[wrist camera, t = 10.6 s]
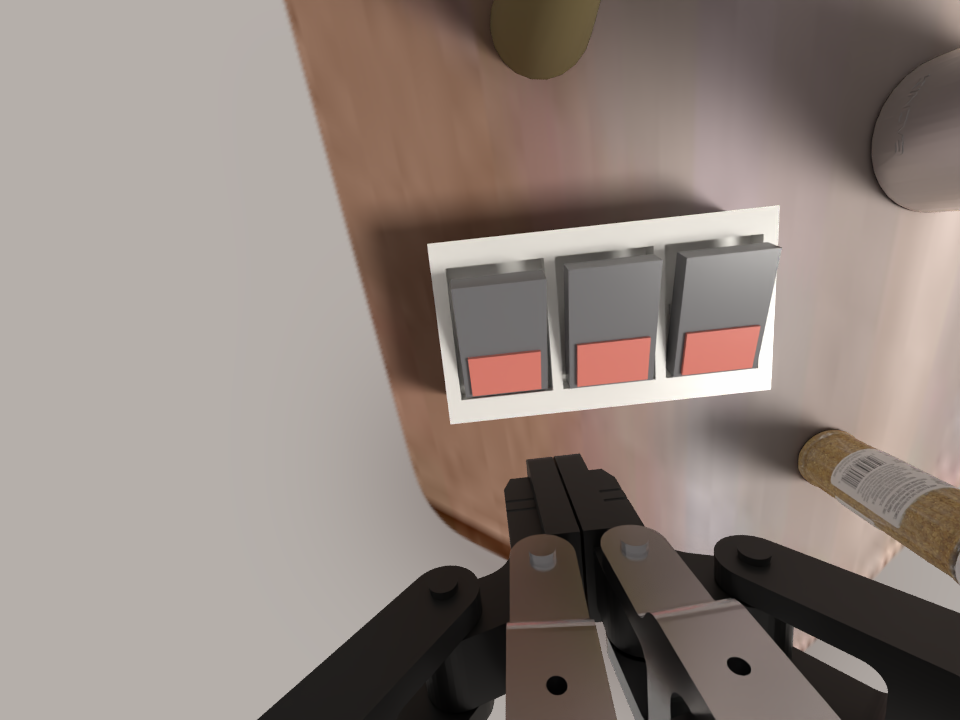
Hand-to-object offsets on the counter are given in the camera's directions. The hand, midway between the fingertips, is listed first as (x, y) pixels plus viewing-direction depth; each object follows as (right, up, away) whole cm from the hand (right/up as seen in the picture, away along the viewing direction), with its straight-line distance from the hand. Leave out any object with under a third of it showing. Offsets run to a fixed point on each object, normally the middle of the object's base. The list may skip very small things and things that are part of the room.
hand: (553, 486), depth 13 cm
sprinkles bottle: (+24, -4, +21) cm, 32 cm away
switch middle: (+5, +6, +13) cm, 15 cm away
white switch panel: (+5, +7, +18) cm, 20 cm away
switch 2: (+11, +6, +13) cm, 18 cm away
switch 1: (-1, +5, +13) cm, 14 cm away
